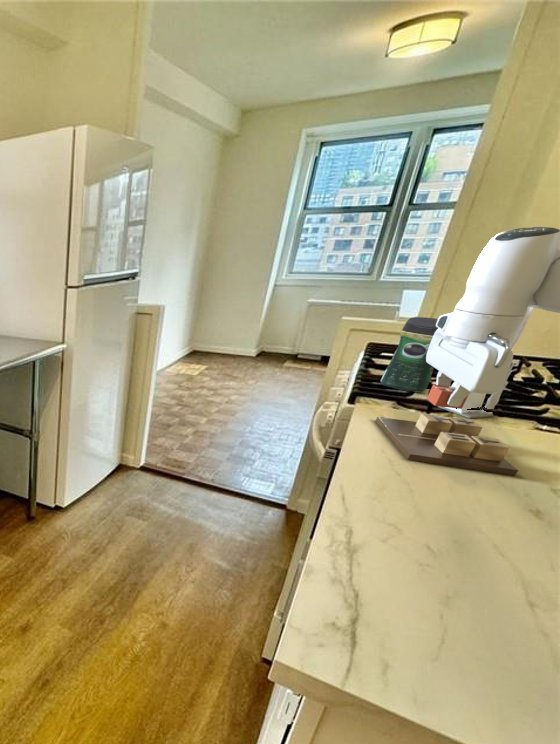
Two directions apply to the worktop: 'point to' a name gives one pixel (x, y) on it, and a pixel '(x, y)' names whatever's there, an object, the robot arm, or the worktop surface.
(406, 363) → the coffee jar
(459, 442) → the tile
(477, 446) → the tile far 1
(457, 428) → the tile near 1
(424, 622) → the worktop surface
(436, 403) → the red toy block
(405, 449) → the board
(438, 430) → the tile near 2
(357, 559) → the worktop surface
